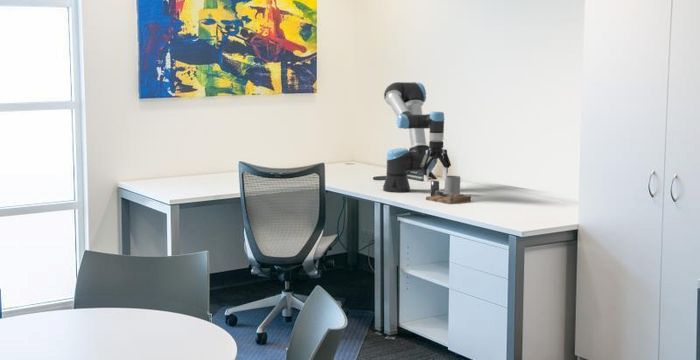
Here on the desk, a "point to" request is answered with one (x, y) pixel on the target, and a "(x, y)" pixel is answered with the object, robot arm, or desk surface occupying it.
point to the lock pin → (436, 188)
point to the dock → (456, 199)
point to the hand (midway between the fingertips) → (435, 180)
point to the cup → (452, 184)
